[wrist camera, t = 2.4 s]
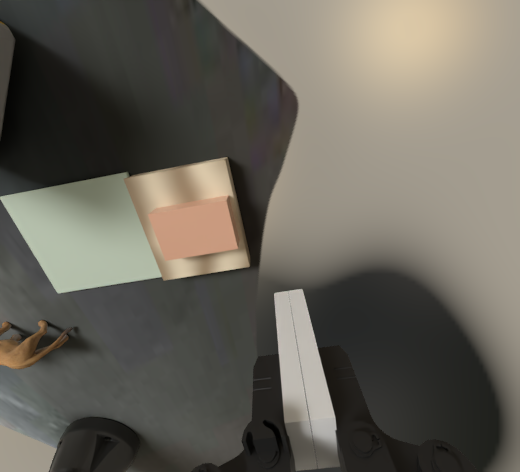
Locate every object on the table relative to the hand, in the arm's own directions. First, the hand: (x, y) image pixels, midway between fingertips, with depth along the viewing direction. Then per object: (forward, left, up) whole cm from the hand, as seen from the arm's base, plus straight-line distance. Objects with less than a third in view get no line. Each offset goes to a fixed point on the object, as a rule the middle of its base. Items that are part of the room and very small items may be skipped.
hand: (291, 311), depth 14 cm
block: (-10, 0, -18) cm, 20 cm away
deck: (-10, 0, -20) cm, 23 cm away
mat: (-26, 0, -20) cm, 33 cm away
